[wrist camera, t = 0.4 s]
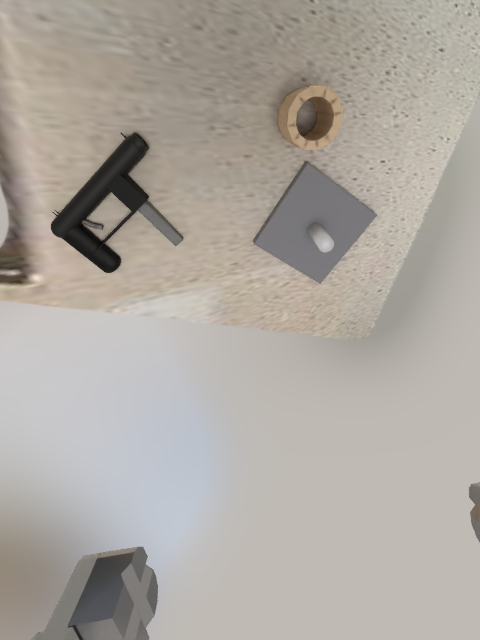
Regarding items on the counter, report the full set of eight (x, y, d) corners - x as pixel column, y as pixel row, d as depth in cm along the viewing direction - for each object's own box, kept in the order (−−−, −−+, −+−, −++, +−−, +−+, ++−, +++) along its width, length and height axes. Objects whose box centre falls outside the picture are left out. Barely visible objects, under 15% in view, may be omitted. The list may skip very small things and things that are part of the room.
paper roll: (297, 77, 43) (310, 72, 36) (334, 108, 45) (353, 109, 38) (268, 126, 45) (277, 129, 39) (304, 153, 47) (318, 160, 41)
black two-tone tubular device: (209, 217, 50) (124, 124, 42) (124, 293, 56) (36, 225, 48) (209, 210, 53) (129, 121, 45) (128, 284, 59) (45, 218, 51)
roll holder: (305, 161, 48) (320, 171, 41) (373, 212, 53) (397, 228, 45) (253, 240, 54) (258, 260, 47) (318, 280, 59) (331, 303, 52)
